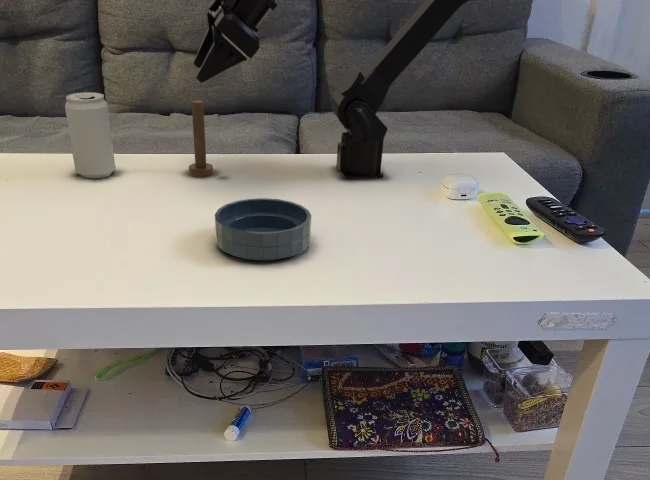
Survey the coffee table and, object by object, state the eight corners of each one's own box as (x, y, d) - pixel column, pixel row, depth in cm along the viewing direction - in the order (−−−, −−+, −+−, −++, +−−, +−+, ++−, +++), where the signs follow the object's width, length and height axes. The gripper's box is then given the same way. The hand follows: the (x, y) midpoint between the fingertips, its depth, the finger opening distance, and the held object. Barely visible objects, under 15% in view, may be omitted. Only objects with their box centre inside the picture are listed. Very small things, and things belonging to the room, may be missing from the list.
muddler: (212, 169, 111) (209, 98, 105) (214, 176, 108) (211, 104, 102) (188, 170, 111) (183, 98, 104) (189, 177, 108) (185, 104, 101)
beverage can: (87, 182, 105) (75, 102, 98) (68, 172, 109) (55, 94, 102) (123, 174, 108) (114, 96, 102) (103, 165, 112) (93, 89, 106)
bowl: (300, 224, 92) (301, 196, 89) (318, 261, 82) (319, 230, 79) (212, 229, 90) (211, 200, 88) (220, 267, 80) (219, 235, 78)
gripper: (215, -69, 97) (152, 23, 103) (225, -58, 82) (152, 48, 88) (271, -12, 103) (209, 72, 108) (291, 7, 88) (218, 103, 94)
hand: (197, 72), depth 100 cm, fingers open, 9 cm apart
